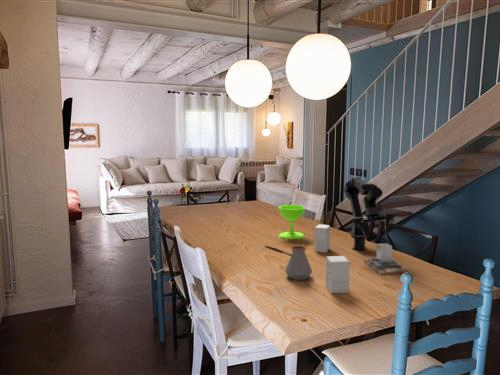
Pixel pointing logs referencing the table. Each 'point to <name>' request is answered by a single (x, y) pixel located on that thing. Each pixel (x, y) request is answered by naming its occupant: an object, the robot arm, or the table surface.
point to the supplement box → (337, 274)
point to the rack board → (385, 267)
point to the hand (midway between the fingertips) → (376, 236)
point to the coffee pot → (296, 263)
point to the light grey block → (384, 254)
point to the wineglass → (291, 220)
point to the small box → (322, 238)
